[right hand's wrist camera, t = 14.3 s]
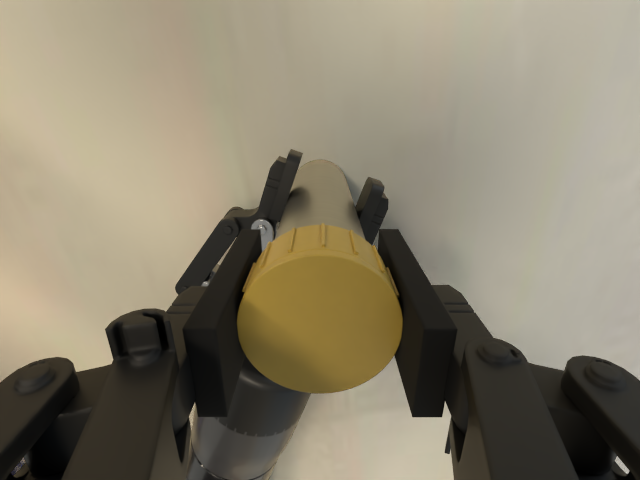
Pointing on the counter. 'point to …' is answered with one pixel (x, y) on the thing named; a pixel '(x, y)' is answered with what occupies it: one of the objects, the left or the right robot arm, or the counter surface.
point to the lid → (319, 311)
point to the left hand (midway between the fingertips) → (335, 168)
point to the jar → (319, 199)
